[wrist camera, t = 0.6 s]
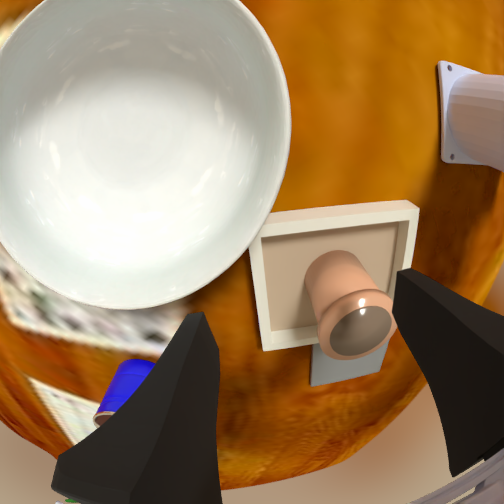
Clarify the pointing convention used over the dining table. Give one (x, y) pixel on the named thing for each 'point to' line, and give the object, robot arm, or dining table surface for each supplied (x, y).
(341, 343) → the pot
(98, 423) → the hyacinth
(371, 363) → the coaster
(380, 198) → the dining table surface
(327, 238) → the square beige tray
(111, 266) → the cereal bowl
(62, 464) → the robot arm
